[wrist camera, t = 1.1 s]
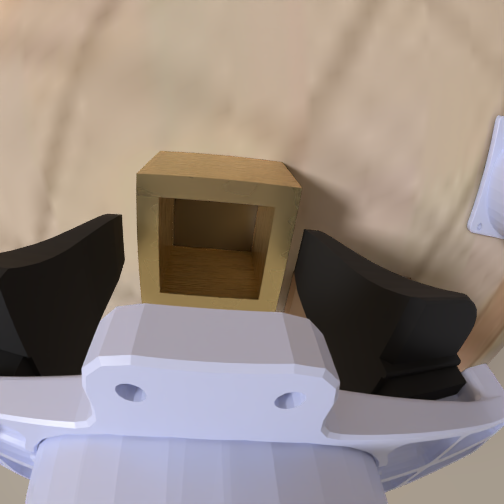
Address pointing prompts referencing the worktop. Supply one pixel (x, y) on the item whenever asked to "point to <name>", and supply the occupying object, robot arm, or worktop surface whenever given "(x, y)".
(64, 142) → the worktop surface
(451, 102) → the worktop surface
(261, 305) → the collar
